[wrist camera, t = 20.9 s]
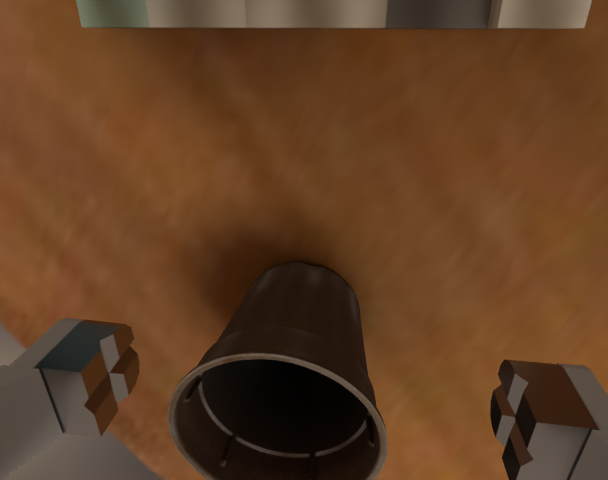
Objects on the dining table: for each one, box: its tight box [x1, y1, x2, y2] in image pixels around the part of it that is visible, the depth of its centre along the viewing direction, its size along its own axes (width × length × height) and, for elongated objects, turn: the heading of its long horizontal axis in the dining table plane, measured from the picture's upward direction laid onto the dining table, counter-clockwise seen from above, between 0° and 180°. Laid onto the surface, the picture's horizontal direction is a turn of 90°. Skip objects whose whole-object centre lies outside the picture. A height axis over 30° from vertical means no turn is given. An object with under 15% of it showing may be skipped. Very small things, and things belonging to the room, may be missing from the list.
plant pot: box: [168, 262, 388, 480], centre depth 37 cm, size 16×16×16 cm
